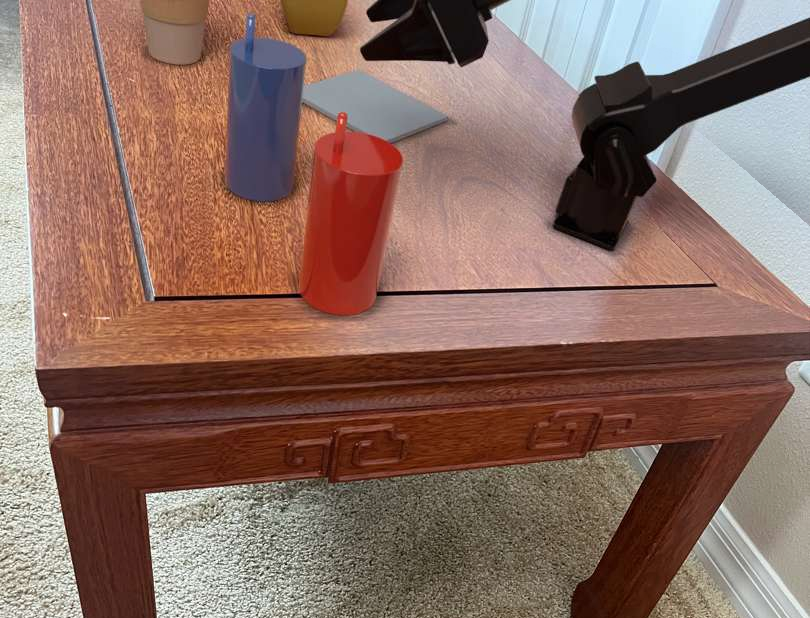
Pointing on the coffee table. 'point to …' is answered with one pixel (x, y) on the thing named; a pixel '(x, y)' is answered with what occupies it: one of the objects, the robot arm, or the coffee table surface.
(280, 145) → the blue cylinder
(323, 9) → the flower pot
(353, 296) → the red cylinder
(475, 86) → the coffee table surface
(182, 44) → the coffee cup
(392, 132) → the gray mat
